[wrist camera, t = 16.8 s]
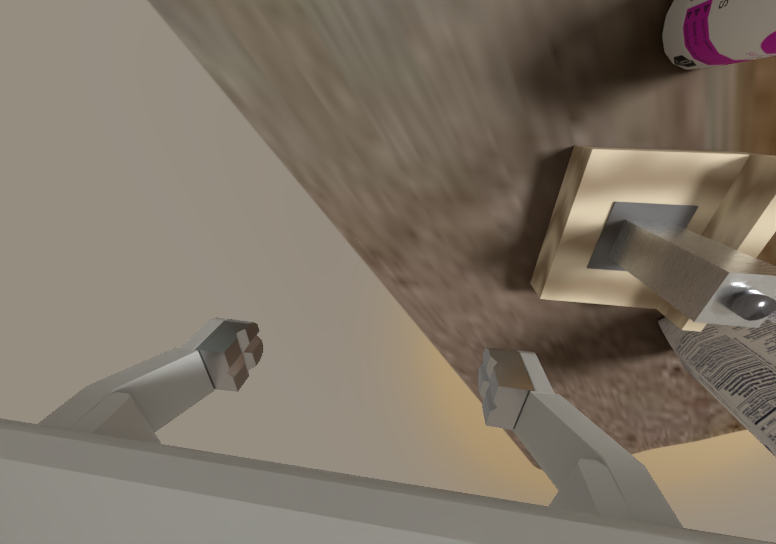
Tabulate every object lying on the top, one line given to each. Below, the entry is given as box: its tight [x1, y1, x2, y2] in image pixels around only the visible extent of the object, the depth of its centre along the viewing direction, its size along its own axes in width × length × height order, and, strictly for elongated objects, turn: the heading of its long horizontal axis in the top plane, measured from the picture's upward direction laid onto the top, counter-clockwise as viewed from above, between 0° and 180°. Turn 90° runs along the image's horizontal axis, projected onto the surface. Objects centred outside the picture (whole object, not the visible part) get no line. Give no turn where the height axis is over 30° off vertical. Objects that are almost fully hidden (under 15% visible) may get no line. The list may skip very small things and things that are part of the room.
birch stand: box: [530, 146, 776, 332], centre depth 31 cm, size 18×16×8 cm
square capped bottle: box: [608, 219, 776, 328], centre depth 25 cm, size 4×4×13 cm
